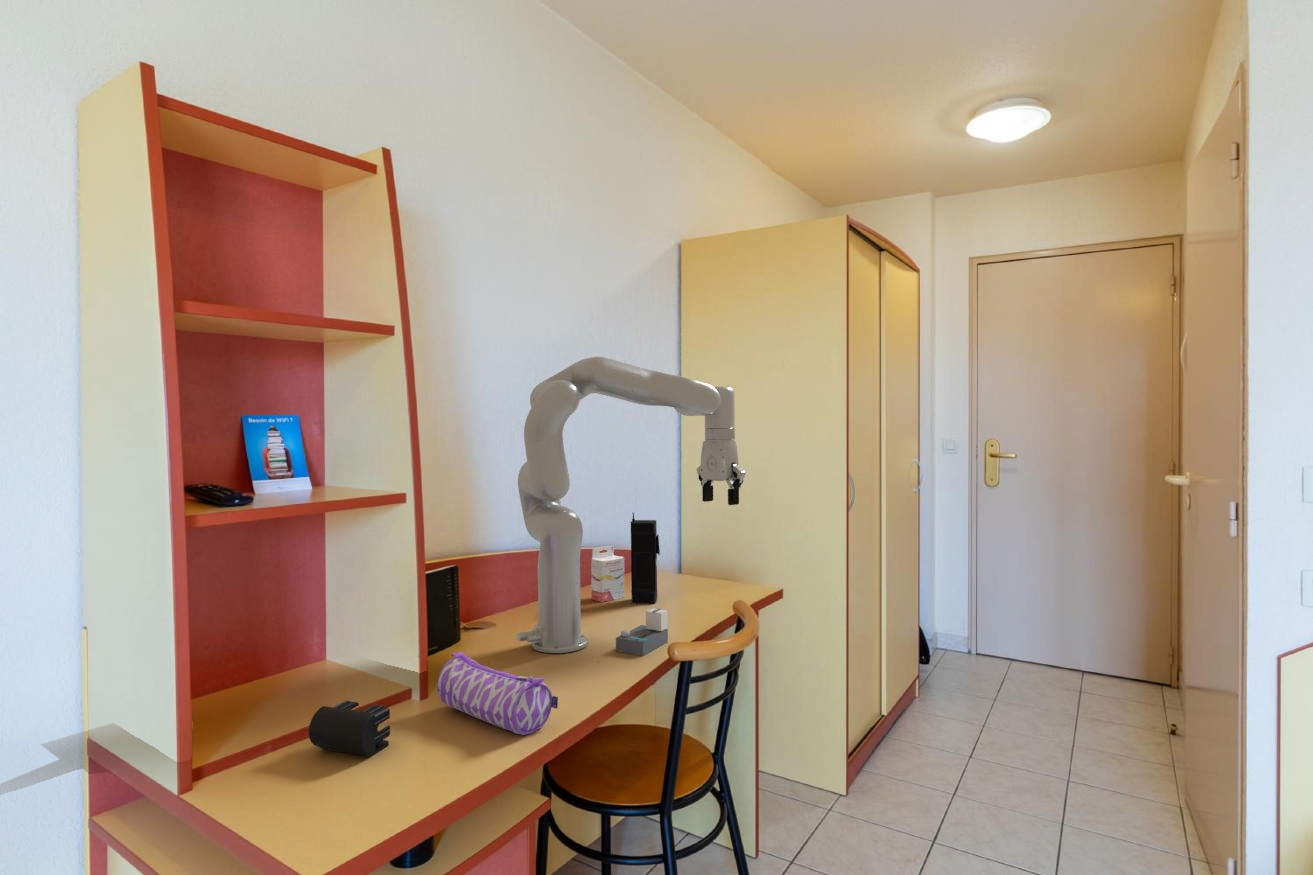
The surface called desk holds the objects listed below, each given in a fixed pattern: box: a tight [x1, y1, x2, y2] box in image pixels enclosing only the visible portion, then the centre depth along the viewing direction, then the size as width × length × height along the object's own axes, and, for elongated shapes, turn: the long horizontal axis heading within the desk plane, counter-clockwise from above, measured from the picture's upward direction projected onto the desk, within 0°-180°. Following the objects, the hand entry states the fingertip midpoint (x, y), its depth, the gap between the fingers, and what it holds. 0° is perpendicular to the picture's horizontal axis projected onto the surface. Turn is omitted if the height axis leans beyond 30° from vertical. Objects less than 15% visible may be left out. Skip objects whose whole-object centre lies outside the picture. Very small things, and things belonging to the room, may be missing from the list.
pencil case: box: [436, 651, 559, 736], centre depth 124 cm, size 22×9×10 cm, turn 55°
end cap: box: [308, 700, 391, 758], centre depth 113 cm, size 10×7×7 cm
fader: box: [645, 608, 669, 631], centre depth 165 cm, size 3×4×4 cm
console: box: [615, 624, 669, 657], centre depth 163 cm, size 11×7×4 cm, turn 150°
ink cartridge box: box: [590, 544, 625, 603], centre depth 206 cm, size 9×5×15 cm, turn 133°
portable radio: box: [630, 512, 661, 605], centre depth 203 cm, size 8×6×25 cm
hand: (720, 502), depth 184 cm, fingers open, 9 cm apart
